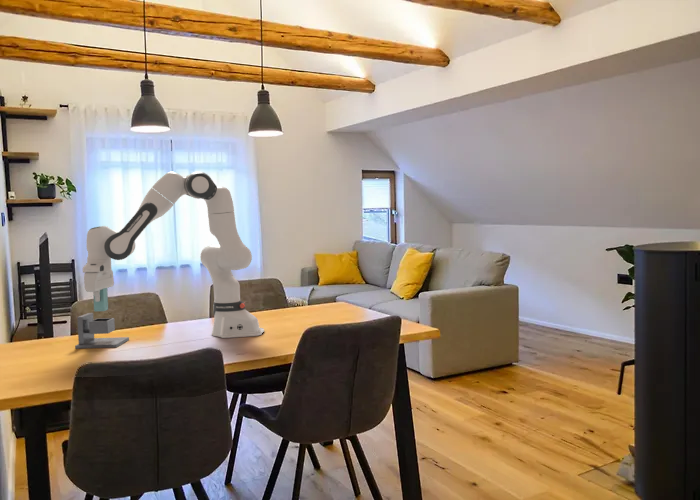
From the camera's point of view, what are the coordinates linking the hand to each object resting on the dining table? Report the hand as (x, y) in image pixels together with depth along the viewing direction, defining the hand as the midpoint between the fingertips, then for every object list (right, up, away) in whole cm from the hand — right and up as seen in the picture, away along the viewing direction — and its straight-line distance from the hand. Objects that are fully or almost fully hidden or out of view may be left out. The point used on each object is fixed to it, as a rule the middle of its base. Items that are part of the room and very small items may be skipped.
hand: (100, 300), depth 228 cm
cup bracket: (0, -18, +1) cm, 18 cm away
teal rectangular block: (0, -4, 0) cm, 4 cm away
